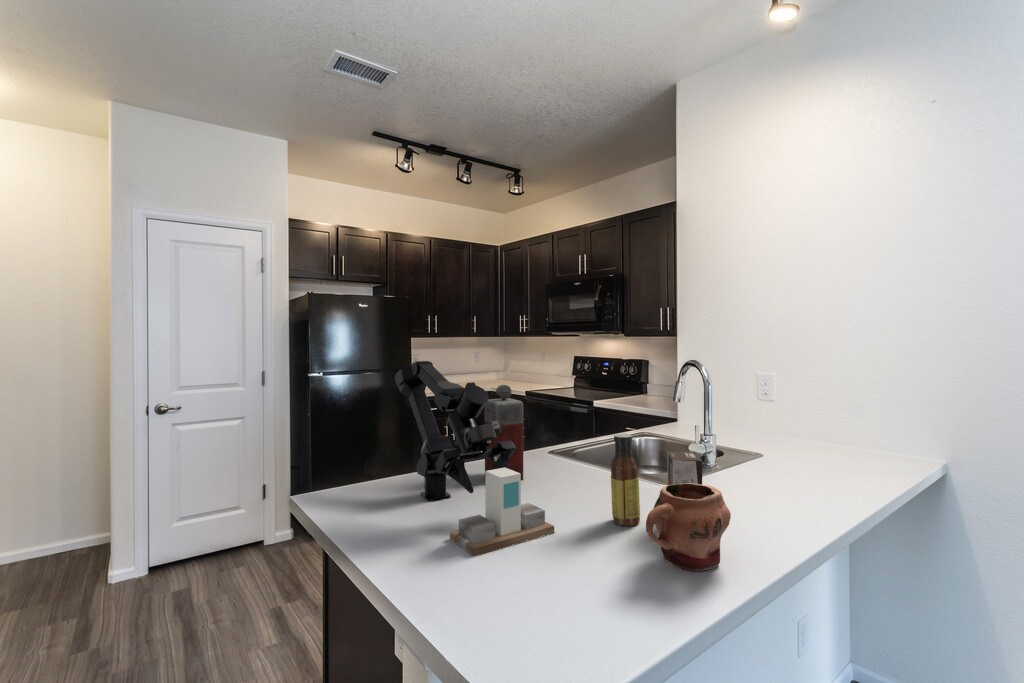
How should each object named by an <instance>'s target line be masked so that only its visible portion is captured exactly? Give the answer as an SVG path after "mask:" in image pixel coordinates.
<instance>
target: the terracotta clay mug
mask: <svg viewBox="0 0 1024 683" xmlns="http://www.w3.org/2000/svg"><path fill="white" fill-rule="evenodd" d="M731 517H732V516H731V511H730V509H729V508H728V506H727V503H726V502H725V500H724V497H723V493H722V492H721V490H719V489H718V488H716V487H714V486H711V485H708V484H702V485H700V484H693V483H684V484H673V485H668V484H667V485H665V486H663V487H661V490H660V491H659V496H658V497H657V499H656V501H655V503H654V507H653V508H652V509H651V510H650V511H649V513H648V514H647V516H646V521H645V532H646V533H647V535H648V537H649V538H650V540H651V541H652V542H654V543H655V545H657V547H658V546H659V547H660V551H661V553H662V556H663V558H664V559H665V560H666V561H667V562H668V563H669V564H671V565H673V566H675V567H678V568H681V569H684V570H688V571H698V572H699V571H707V570H711V569H713V568H715V567H717V566H718V565H720V564H721V539H722V536H723V534H724V532H726V530H727V529H728V527H729V525H730V522H731ZM654 527H655V529H656V533H657V534H658V536H656V535H655V532H654Z"/></svg>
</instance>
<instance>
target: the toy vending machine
mask: <svg viewBox="0 0 1024 683" xmlns="http://www.w3.org/2000/svg"><path fill="white" fill-rule="evenodd" d="M495 395H496V397H498V398H493V399H492V398H491V399H488V401H487V403H486V405H485V406H484V425H486V424H488V423H490V422H491V421H497V422H498V423H499V425H500V427H501V434H499V435H497V436H496V438H493V439H491V440H490V445H489V446H487V447H486V448H487V449H493V448H494V446H495V445H496V443H497V442H501V441H508V440H510V441H512V442H513V443H514V445H515V447H516V450H515V451H514V452H513V454H512V455H511V457H510V458H509V459H508V469H510V470H513V471H515V472H518V473H520V474H521V481H524V402H523V401H521V400H518V399H515V398H510V397H511V396H512V389H511V387H510V385H506V384H499V385H498V386H497V388H496V389H495ZM493 465H494V462H492V460H491V458H484V472H485V471H488V470H494V469H495V468H494V466H493Z"/></svg>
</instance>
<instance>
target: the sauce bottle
mask: <svg viewBox="0 0 1024 683" xmlns="http://www.w3.org/2000/svg"><path fill="white" fill-rule="evenodd" d="M613 437H614V438H613V441H614V445H615V446H614V448H615V449H614V450H615V451H614V454H615V455H614V457H613V458H612V460H611V462H610V488H611V514H612V520H613V522H614V523H615V524H617V525H619V526H624V527H633V526H636V525H639V523H640V522H641V521H640V520H641V519H640V518H641V517H640V516H641V503H640V499H641V498H640V478H639V472H638V471H639V470H638V468H639V467H638V466H639V465H638V464H637V461H636V460H635V458H634V456H633V450H632V448H633V447H632V446H633V445H632V443H633V436H632V435H631V434H627V433H617V434H614V435H613Z"/></svg>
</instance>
